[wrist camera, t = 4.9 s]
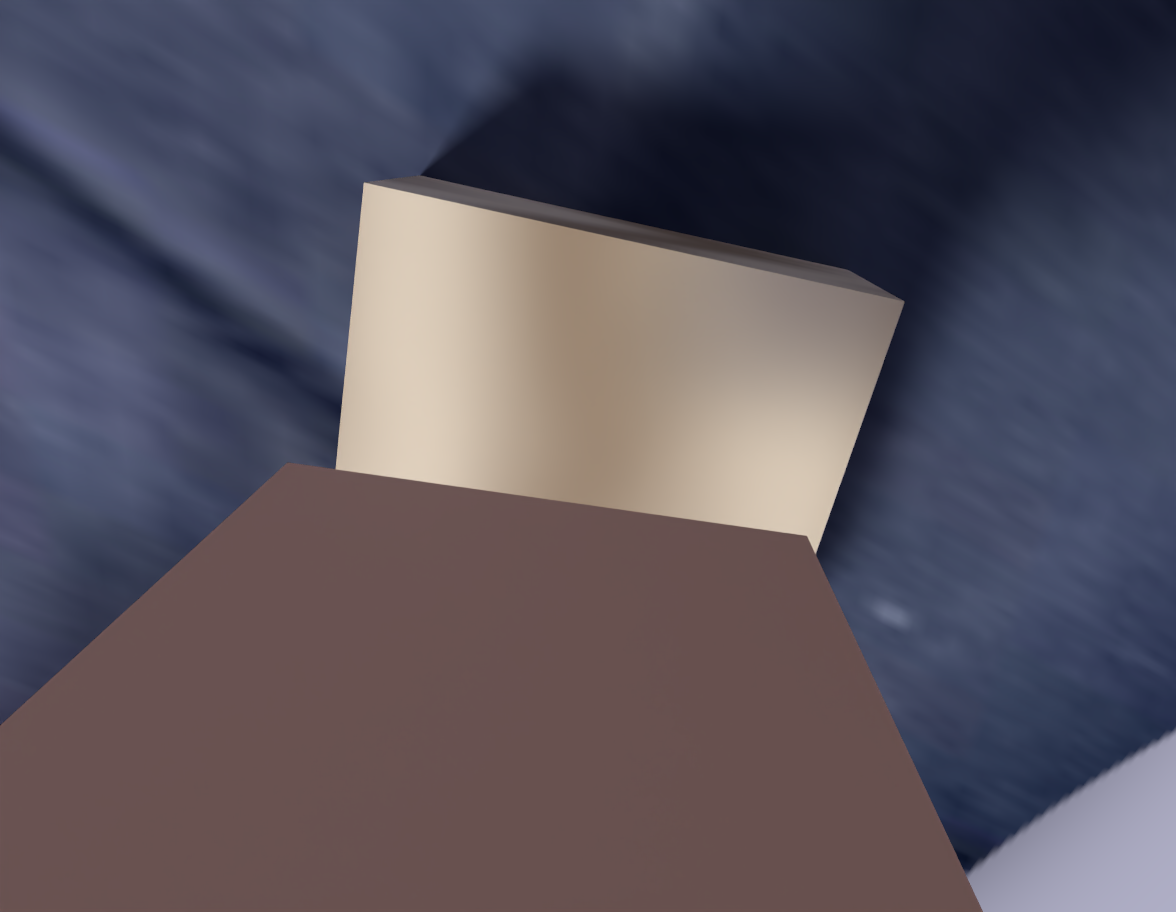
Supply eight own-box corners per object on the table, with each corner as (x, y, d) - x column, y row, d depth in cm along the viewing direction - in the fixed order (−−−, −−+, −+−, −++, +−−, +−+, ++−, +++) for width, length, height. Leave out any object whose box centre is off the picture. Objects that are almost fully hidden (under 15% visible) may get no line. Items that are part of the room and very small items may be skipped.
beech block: (843, 268, 17) (904, 301, 13) (730, 624, 20) (752, 732, 16) (424, 174, 17) (364, 182, 13) (376, 551, 20) (318, 644, 16)
